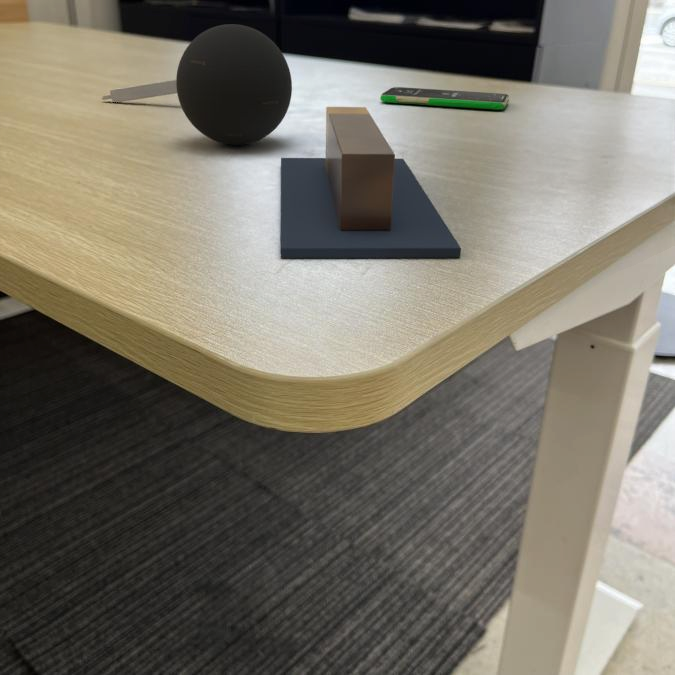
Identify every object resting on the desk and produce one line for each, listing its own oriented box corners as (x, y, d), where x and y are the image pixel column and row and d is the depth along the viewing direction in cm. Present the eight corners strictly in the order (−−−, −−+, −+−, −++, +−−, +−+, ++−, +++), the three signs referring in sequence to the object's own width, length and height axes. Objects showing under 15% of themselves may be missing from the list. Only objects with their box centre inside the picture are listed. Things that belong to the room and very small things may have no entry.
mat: (403, 165, 61) (403, 158, 61) (460, 258, 42) (461, 247, 41) (281, 165, 61) (281, 157, 60) (280, 258, 41) (280, 248, 41)
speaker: (292, 133, 72) (292, 21, 68) (291, 157, 63) (290, 29, 59) (188, 132, 72) (181, 19, 67) (172, 155, 63) (162, 27, 58)
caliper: (270, 112, 83) (270, 52, 80) (267, 113, 82) (266, 53, 79) (106, 100, 88) (100, 43, 85) (101, 102, 87) (94, 44, 84)
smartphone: (505, 102, 86) (378, 94, 90) (504, 111, 86) (378, 102, 90) (510, 93, 92) (392, 86, 96) (509, 101, 93) (391, 93, 97)
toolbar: (339, 231, 44) (341, 153, 42) (325, 166, 58) (326, 106, 56) (390, 230, 44) (395, 153, 42) (363, 166, 58) (366, 107, 56)
